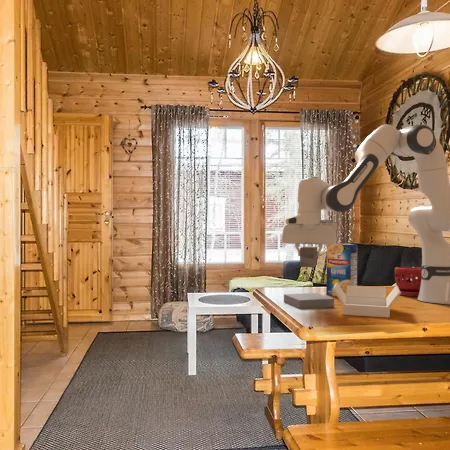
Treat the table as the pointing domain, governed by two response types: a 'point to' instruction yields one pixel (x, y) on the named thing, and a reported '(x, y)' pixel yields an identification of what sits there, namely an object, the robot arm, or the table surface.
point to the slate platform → (308, 300)
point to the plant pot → (408, 280)
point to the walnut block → (308, 256)
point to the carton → (366, 300)
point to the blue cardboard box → (341, 266)
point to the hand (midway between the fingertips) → (308, 256)
